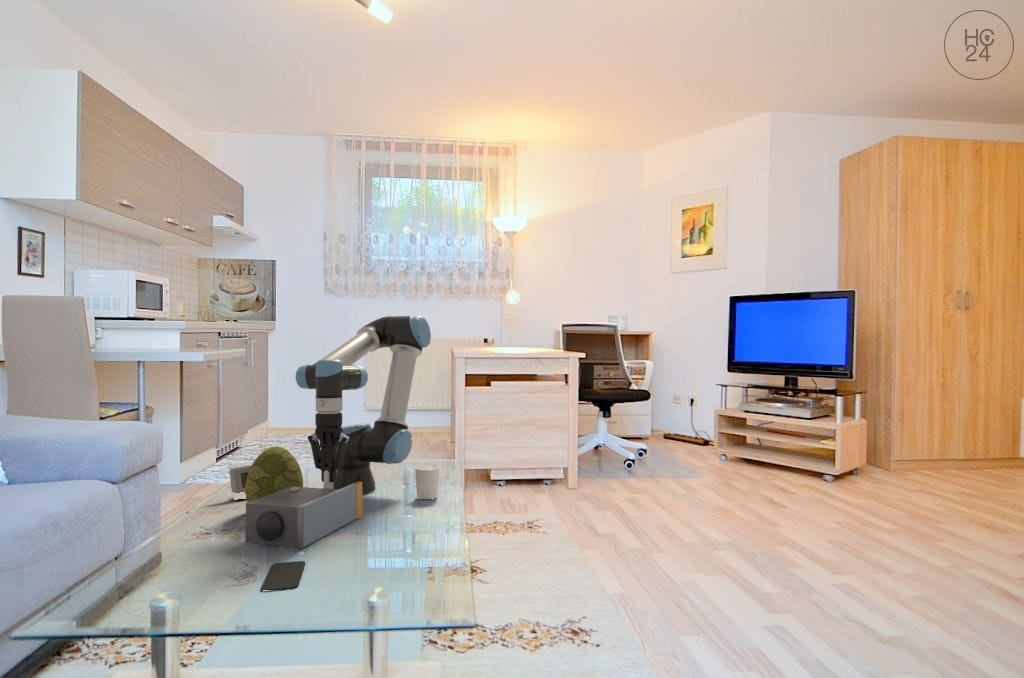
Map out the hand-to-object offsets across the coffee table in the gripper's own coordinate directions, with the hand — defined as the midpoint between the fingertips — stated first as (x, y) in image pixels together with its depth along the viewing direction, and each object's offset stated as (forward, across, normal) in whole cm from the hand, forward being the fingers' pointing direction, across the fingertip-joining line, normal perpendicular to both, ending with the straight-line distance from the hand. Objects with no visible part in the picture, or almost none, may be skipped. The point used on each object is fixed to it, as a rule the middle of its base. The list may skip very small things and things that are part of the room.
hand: (328, 492), depth 168 cm
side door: (+7, +8, -11) cm, 15 cm away
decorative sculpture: (+8, -20, +2) cm, 22 cm away
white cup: (+8, +18, +30) cm, 36 cm away
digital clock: (+8, -39, +17) cm, 43 cm away
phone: (+8, +15, -40) cm, 43 cm away
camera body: (+8, -1, -14) cm, 16 cm away
